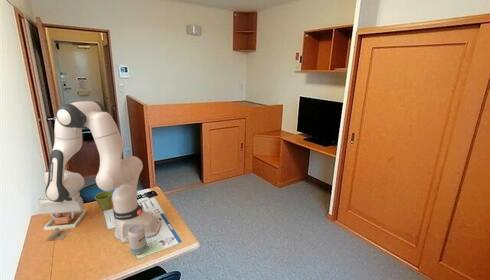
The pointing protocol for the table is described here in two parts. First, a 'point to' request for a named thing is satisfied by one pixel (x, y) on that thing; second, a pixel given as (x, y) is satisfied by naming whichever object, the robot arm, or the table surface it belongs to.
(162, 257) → the table surface
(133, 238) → the beverage can
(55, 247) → the table surface
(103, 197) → the plant pot
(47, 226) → the tray
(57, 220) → the orange frame with handle
